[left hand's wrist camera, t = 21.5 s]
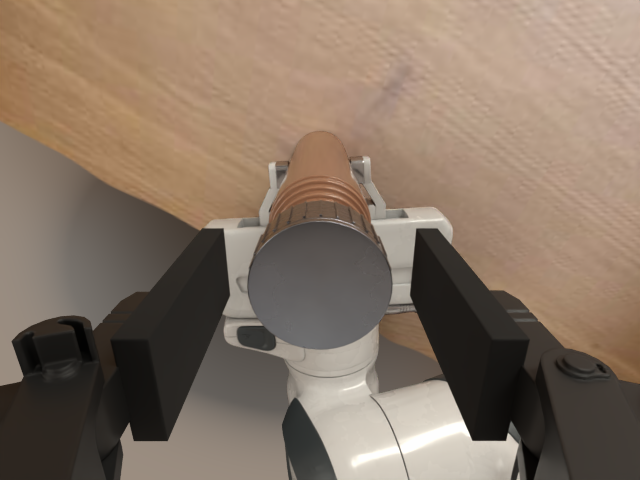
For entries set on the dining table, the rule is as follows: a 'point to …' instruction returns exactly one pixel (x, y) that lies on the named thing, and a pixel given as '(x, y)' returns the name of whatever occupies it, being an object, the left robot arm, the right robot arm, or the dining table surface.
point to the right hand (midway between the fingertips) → (318, 159)
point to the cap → (319, 276)
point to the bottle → (319, 176)
